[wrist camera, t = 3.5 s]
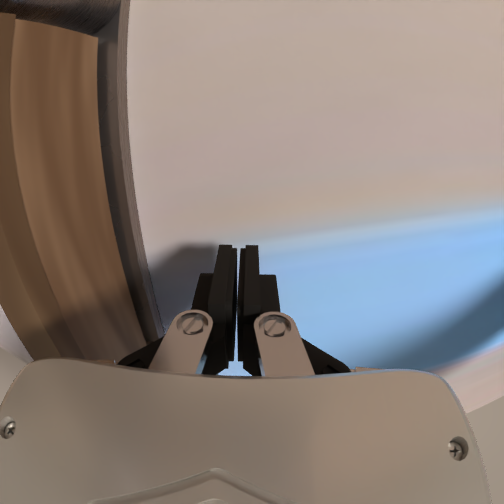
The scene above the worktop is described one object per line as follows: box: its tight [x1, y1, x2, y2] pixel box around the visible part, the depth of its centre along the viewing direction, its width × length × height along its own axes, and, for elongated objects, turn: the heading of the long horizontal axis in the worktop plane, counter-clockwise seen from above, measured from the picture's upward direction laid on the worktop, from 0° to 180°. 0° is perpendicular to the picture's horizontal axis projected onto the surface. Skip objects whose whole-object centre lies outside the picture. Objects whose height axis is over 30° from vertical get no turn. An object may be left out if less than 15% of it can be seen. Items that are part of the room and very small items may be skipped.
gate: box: [0, 12, 147, 362], centre depth 10 cm, size 2×20×6 cm, turn 0°
